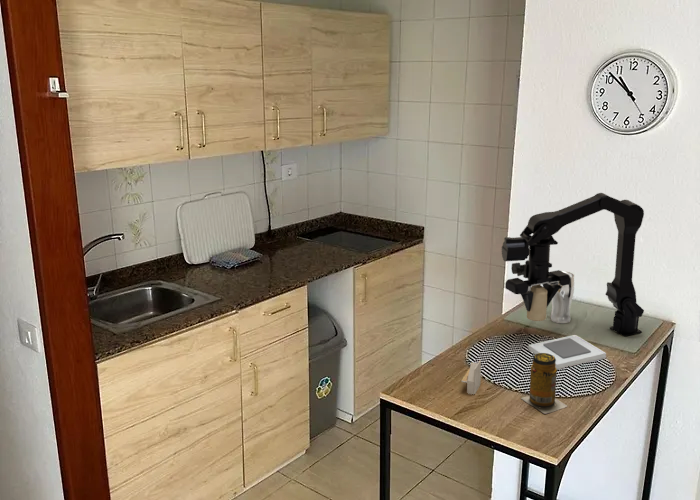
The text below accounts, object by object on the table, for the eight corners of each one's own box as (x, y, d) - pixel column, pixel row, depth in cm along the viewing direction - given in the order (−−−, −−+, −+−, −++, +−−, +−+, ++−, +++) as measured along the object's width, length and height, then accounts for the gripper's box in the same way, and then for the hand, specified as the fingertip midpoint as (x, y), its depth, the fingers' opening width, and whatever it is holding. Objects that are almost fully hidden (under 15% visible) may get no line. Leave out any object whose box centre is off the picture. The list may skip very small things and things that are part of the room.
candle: (546, 321, 189) (548, 289, 186) (527, 321, 190) (528, 289, 187) (545, 314, 194) (546, 283, 191) (526, 313, 195) (527, 282, 192)
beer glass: (575, 323, 201) (578, 278, 197) (552, 324, 202) (554, 279, 197) (568, 314, 208) (570, 270, 203) (546, 315, 208) (548, 271, 204)
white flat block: (575, 339, 191) (575, 333, 190) (605, 358, 179) (606, 351, 179) (528, 349, 186) (528, 343, 185) (556, 369, 174) (557, 362, 174)
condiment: (543, 391, 164) (545, 348, 161) (567, 406, 157) (570, 362, 153) (520, 399, 161) (522, 355, 158) (544, 415, 154) (546, 369, 150)
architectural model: (461, 393, 166) (461, 367, 163) (468, 381, 171) (469, 355, 169) (474, 396, 164) (474, 369, 162) (481, 383, 170) (482, 358, 168)
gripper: (549, 246, 197) (546, 294, 202) (495, 255, 191) (494, 305, 196) (573, 257, 187) (570, 307, 192) (517, 267, 181) (515, 318, 186)
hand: (536, 309), depth 191 cm, fingers closed on candle, 5 cm apart
